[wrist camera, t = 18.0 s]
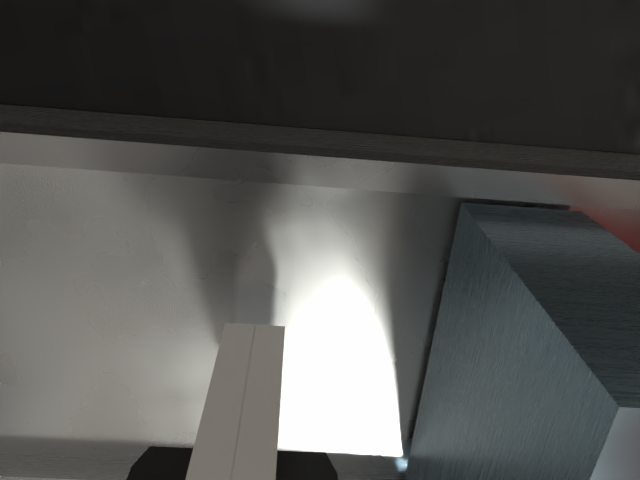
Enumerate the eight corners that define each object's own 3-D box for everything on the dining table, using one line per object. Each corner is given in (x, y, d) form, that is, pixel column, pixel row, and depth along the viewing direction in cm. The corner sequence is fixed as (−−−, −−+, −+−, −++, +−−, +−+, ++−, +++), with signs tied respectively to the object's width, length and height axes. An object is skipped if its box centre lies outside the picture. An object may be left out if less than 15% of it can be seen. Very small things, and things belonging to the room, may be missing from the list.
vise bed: (27, 423, 18) (-212, 771, 10) (-36, 101, 14) (-570, 244, 5) (741, 459, 19) (1063, 794, 11) (901, 175, 15) (1641, 383, 7)
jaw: (405, 473, 16) (467, 780, 10) (460, 202, 12) (619, 407, 6) (499, 478, 16) (621, 782, 10) (581, 211, 13) (862, 421, 6)
